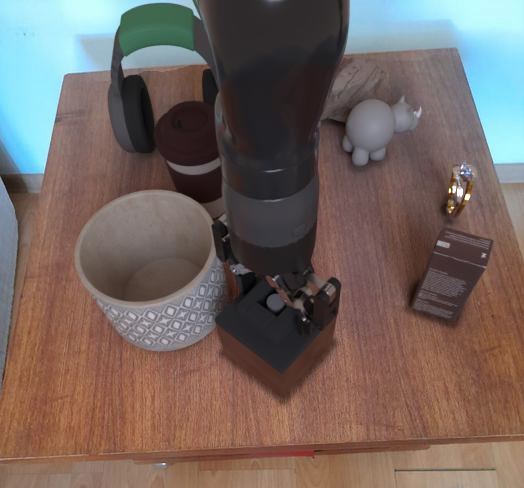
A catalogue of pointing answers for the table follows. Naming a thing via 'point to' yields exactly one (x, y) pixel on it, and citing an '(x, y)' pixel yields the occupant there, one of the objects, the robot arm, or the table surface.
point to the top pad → (267, 314)
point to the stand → (269, 374)
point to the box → (451, 273)
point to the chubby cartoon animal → (376, 128)
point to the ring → (460, 188)
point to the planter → (153, 268)
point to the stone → (353, 87)
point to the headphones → (133, 86)
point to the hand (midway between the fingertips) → (276, 308)
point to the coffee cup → (192, 153)
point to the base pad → (258, 344)
